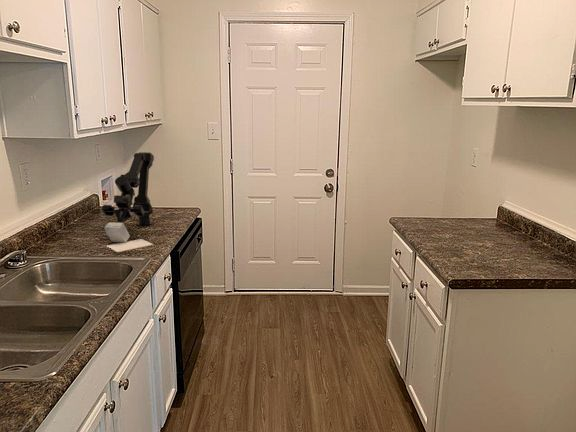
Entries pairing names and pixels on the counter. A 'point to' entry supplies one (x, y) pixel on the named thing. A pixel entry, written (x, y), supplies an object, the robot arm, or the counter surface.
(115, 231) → the medicine box
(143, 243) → the pale rubber mat
